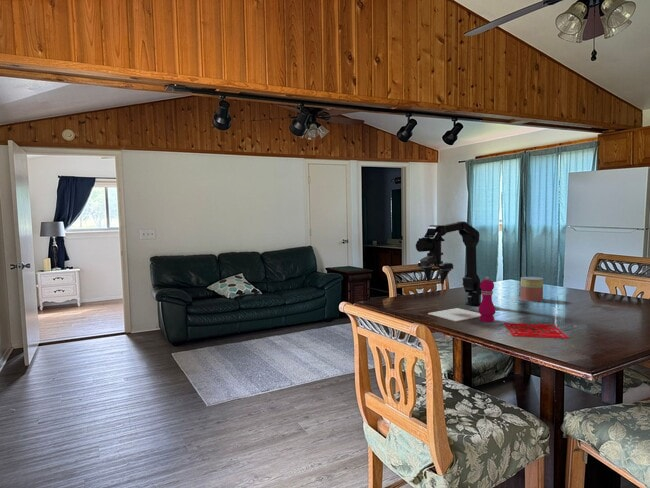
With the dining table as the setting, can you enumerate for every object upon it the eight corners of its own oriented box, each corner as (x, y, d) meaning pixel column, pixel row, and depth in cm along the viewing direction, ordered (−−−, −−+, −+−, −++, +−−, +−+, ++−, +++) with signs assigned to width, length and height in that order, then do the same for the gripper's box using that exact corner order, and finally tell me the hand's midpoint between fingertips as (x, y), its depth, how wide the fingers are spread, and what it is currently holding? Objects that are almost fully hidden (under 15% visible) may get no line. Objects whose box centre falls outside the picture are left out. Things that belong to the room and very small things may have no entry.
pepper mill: (495, 318, 197) (495, 275, 195) (495, 322, 190) (496, 277, 189) (478, 318, 199) (478, 275, 198) (478, 321, 192) (478, 277, 191)
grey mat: (457, 308, 219) (457, 308, 219) (486, 315, 203) (486, 314, 203) (427, 314, 209) (427, 313, 209) (456, 321, 193) (456, 320, 193)
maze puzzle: (554, 326, 184) (554, 324, 184) (569, 339, 165) (569, 338, 165) (504, 324, 189) (504, 322, 188) (513, 337, 169) (513, 335, 169)
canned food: (544, 298, 239) (544, 277, 239) (541, 302, 230) (542, 280, 229) (521, 297, 245) (522, 276, 245) (518, 300, 236) (519, 278, 235)
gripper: (409, 250, 216) (409, 281, 217) (437, 253, 200) (437, 286, 201) (426, 249, 221) (426, 279, 222) (454, 251, 205) (454, 284, 206)
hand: (435, 282), depth 213 cm, fingers open, 9 cm apart
